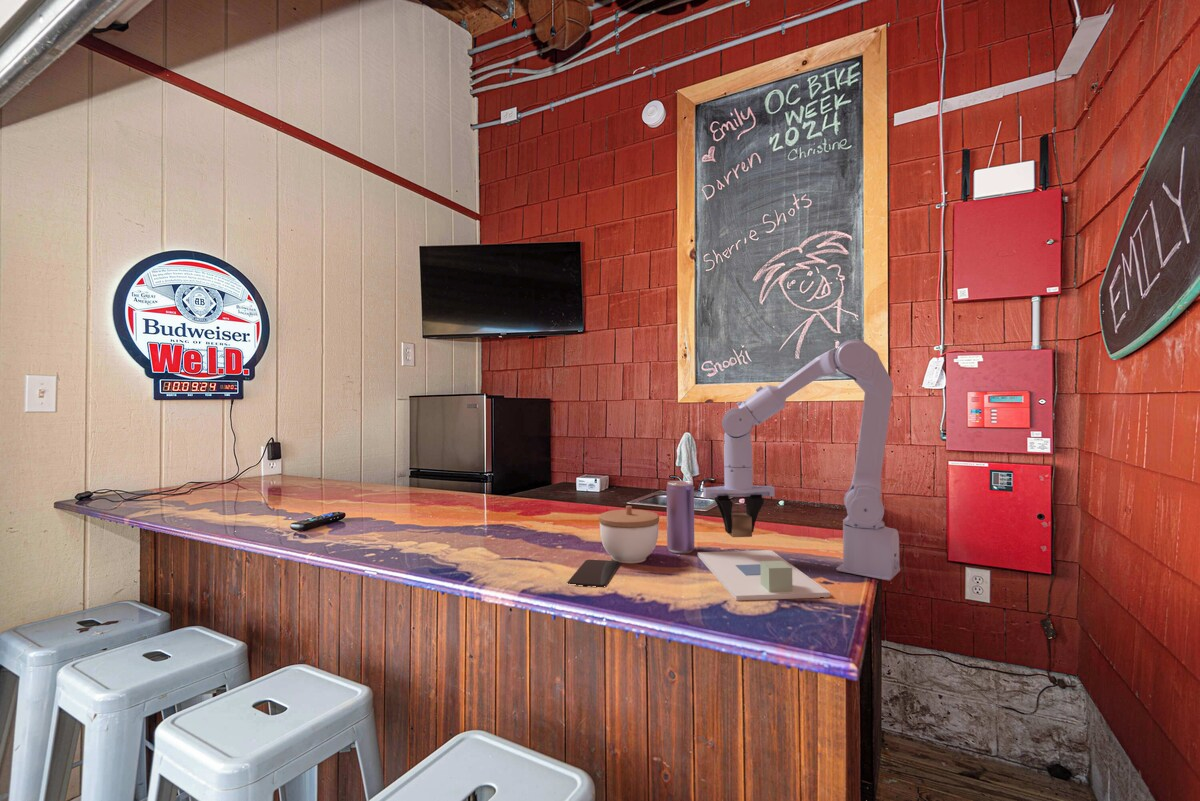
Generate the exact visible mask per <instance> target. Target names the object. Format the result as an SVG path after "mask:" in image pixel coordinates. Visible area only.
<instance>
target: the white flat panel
mask: <svg viewBox="0 0 1200 801" xmlns="http://www.w3.org/2000/svg"><path fill="white" fill-rule="evenodd" d="M697 557H698V558H699V560H701V562H702V563H703V564H704V565H705V566H706V568H707V569H708V570H709V571H710V572H711V573H712V574H713V575H714V577H715V578H716V579H717V580H718V581H719V583H720V584H722V586H723V587H724V588H725V589H726V591H727V592H729V594H730V595H731V596H732V597H733V599H734V600H735V601H766V600H767V601H768V600H789V599H790V600H791V599H817V598H818V599H819V598H820V597H824V598H831V592H830V591H829V590H828V589H826V588H825V587H823V586H822V585H820V584H819V583H818V582H816V581H815V580H813V579H812V578H811V577H810V576H808V575H806V574H805V573H804V572H802V571H801V570H800V569H798V568H797V567H795V566H794V565H793V564H791V563H790V562H788V561H787V560H786V559H784V558H783V557H782V556H780V555H778V554H777V553H776V552H774V551H773V550H772V549H765V550H763V549H761V550H760V549H759V550H756V549H755V550H727V551H725V550H724V551H697ZM760 561H784V562H785V563H787V564H788V565H789V566H791V567H792V591H790V592H768V591H767V590H766V589H765V588H764V587H763V586H762V585H761V568H760ZM820 599H821V598H820Z"/></svg>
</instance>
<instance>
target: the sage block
mask: <svg viewBox="0 0 1200 801" xmlns="http://www.w3.org/2000/svg"><path fill="white" fill-rule="evenodd" d="M760 568H761V585H762V586H763V587H764V588H765V589H766V590H767V591H768V592H790V591H792V567H791V566H789V565H788V564H787V563H785V562H784V561H760Z"/></svg>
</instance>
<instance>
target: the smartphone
mask: <svg viewBox="0 0 1200 801" xmlns="http://www.w3.org/2000/svg"><path fill="white" fill-rule="evenodd" d="M620 565H621V563H620V562H618V561H614V560H608V559H605V560H604V559H585V560H584V561H583V563H582V564H581V565H580V566H579V568H578V569H577V570H576V571H575V572H574V573H573V575H572V576H571V577H570V578H569V579H568V581H567V582H566V584H567V583H568V584H576V585H587V586H596V587H595V588H597V587H604V586H606V585H607V584H608V585H609V583H610V581H611V580H612V578H613V577H614V575H613V574H615V573H616V572H617V570H618V569H619V567H620ZM612 576H613V577H612ZM611 577H612V578H611ZM610 579H611V580H610ZM609 580H610V581H609ZM608 582H609V583H608ZM608 585H607V586H608ZM587 586H586V587H587ZM607 586H606V587H607ZM604 588H605V587H604Z"/></svg>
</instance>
